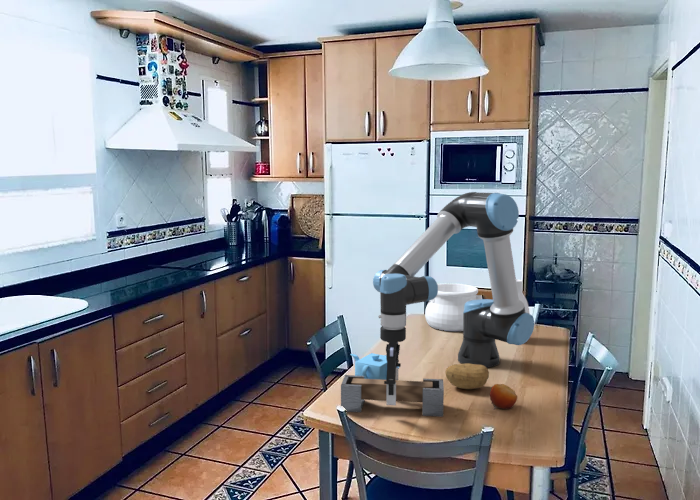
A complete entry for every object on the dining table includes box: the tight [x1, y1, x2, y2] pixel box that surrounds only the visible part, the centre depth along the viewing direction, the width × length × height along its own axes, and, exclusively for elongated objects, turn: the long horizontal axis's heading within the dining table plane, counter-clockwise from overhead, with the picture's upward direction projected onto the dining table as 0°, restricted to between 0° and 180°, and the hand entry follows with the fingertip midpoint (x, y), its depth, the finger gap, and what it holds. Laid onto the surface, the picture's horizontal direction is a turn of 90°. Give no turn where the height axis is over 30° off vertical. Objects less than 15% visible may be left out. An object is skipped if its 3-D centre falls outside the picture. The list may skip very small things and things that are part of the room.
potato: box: [444, 363, 490, 390], centre depth 194 cm, size 10×14×8 cm
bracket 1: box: [340, 374, 365, 413], centre depth 180 cm, size 6×9×8 cm, turn 172°
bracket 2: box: [422, 378, 445, 418], centre depth 177 cm, size 6×9×8 cm, turn 172°
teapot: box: [350, 352, 401, 380], centre depth 195 cm, size 16×18×11 cm
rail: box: [351, 378, 433, 404], centre depth 178 cm, size 24×4×5 cm, turn 82°
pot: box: [424, 282, 483, 332], centre depth 269 cm, size 26×24×18 cm
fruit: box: [489, 383, 518, 410], centre depth 179 cm, size 8×8×8 cm
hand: (392, 396), depth 179 cm, fingers open, 12 cm apart
